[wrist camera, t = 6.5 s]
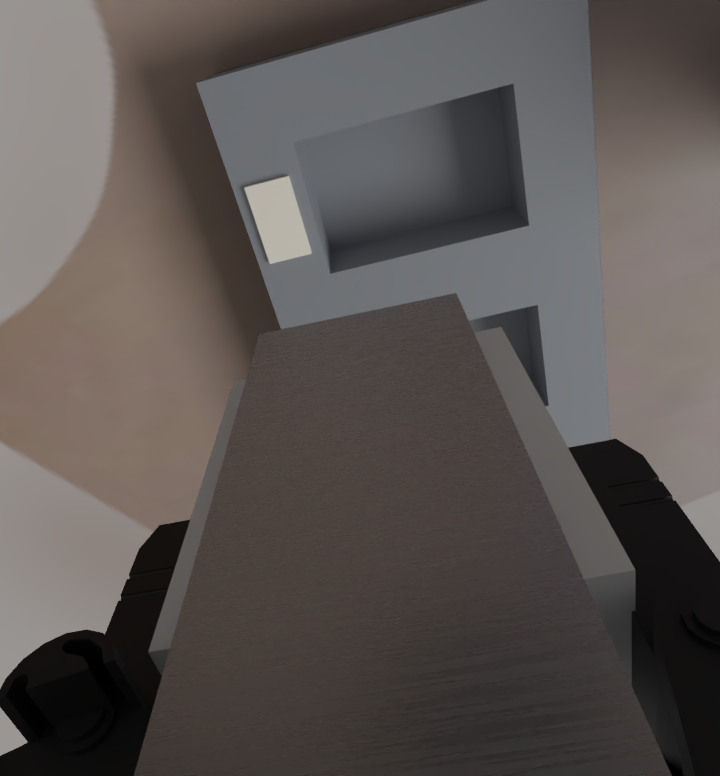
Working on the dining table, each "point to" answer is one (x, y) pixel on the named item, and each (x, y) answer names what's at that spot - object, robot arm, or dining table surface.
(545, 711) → the plug
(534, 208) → the socket board
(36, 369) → the dining table surface
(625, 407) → the dining table surface
